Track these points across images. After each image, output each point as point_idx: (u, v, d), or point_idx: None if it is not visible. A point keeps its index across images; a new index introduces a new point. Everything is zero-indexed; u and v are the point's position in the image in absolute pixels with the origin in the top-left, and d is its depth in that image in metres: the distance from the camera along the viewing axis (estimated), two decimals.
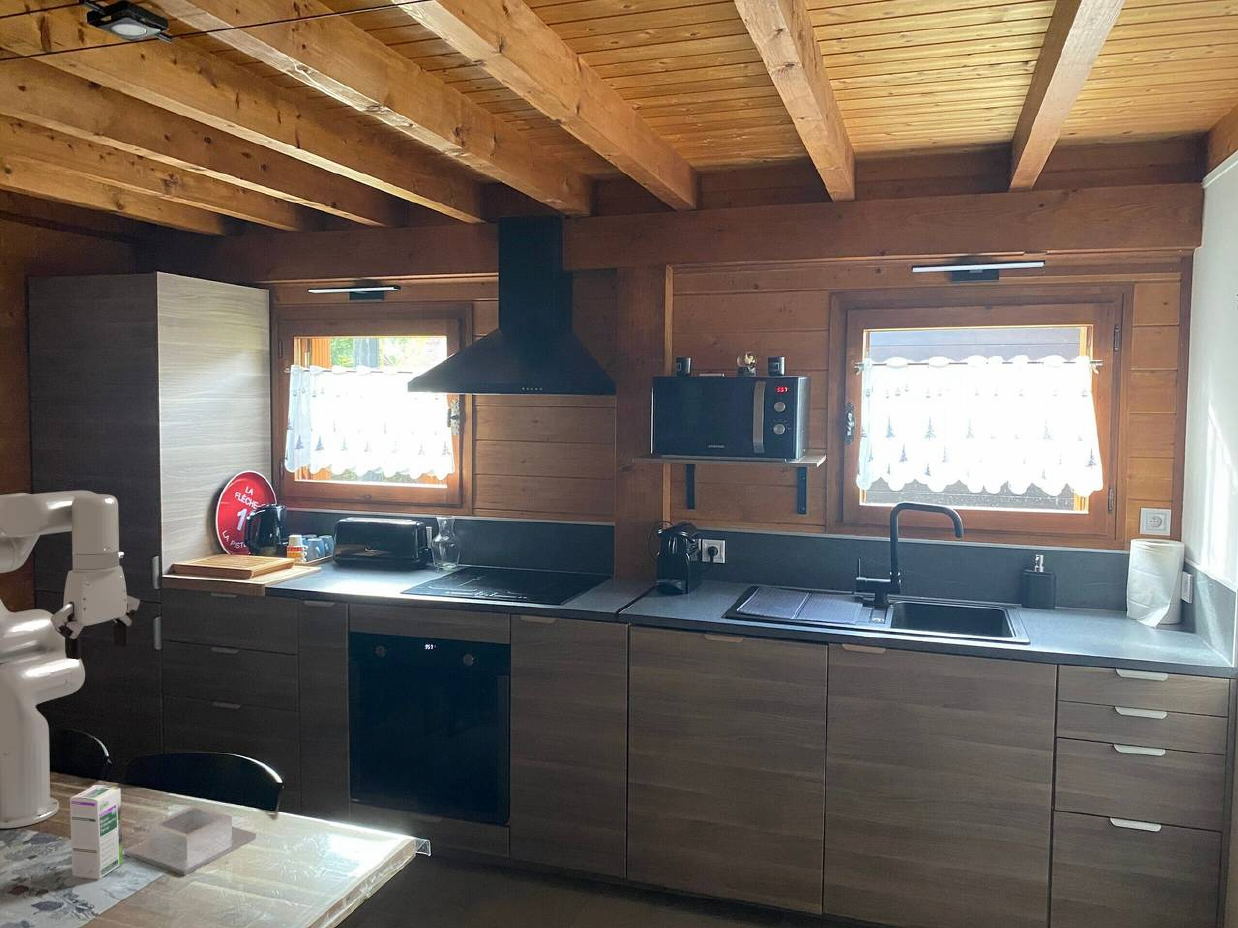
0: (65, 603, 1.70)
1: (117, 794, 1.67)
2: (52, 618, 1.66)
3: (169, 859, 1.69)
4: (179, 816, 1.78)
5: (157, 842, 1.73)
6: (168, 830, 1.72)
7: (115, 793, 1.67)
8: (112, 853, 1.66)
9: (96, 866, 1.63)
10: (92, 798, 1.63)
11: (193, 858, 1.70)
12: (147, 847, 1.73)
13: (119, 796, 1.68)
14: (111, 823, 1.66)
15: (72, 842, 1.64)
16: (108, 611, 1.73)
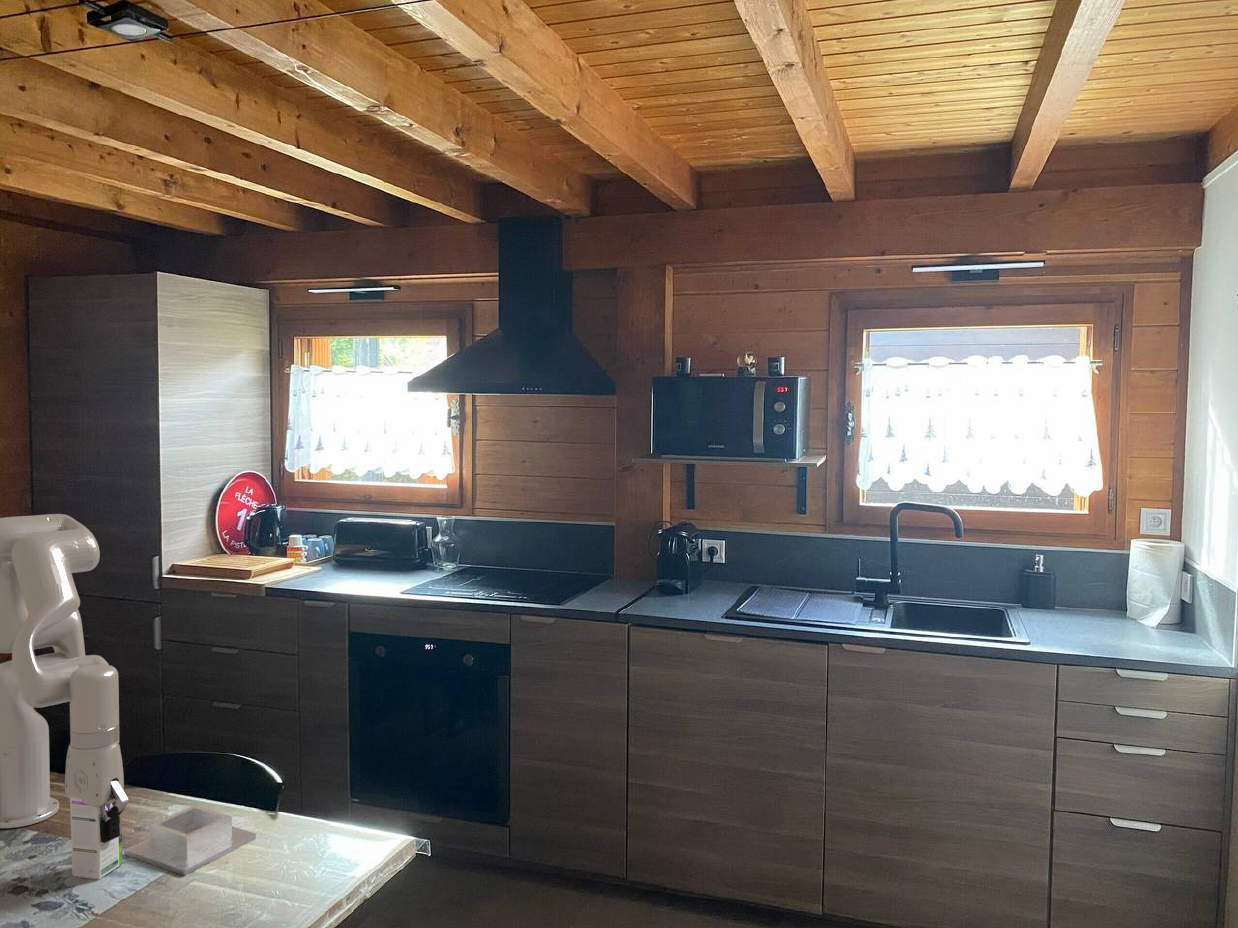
0: (105, 784, 1.62)
1: None
2: (125, 801, 1.62)
3: (169, 859, 1.69)
4: (179, 816, 1.78)
5: (157, 842, 1.73)
6: (168, 830, 1.72)
7: None
8: (112, 853, 1.66)
9: (96, 866, 1.63)
10: None
11: (193, 858, 1.70)
12: (147, 847, 1.73)
13: None
14: None
15: (72, 842, 1.64)
16: None
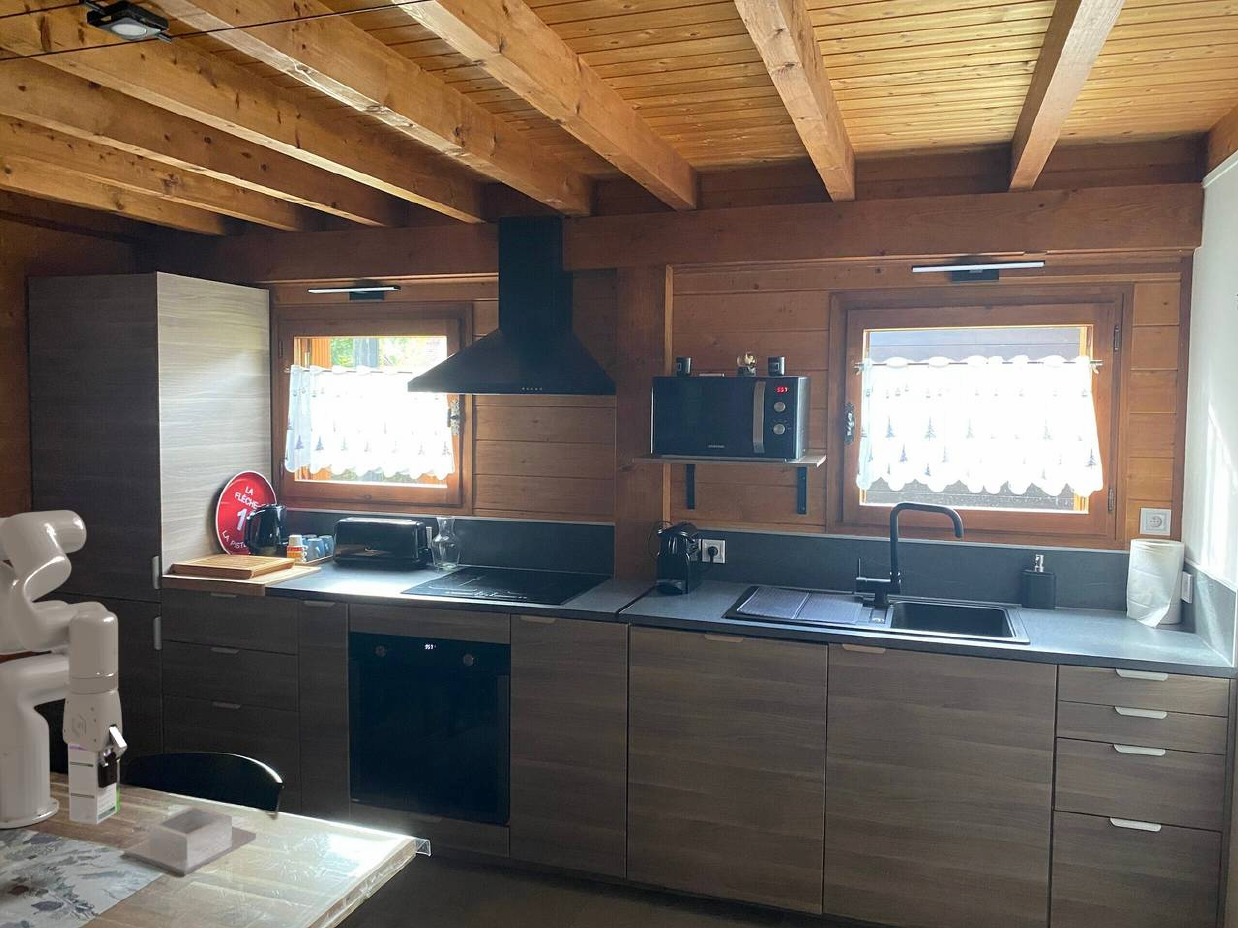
0: (104, 729, 1.61)
1: None
2: (123, 747, 1.62)
3: (169, 859, 1.69)
4: (179, 816, 1.78)
5: (157, 842, 1.73)
6: (168, 830, 1.72)
7: None
8: (110, 799, 1.66)
9: (93, 811, 1.63)
10: None
11: (193, 858, 1.70)
12: (147, 847, 1.73)
13: None
14: None
15: (70, 787, 1.64)
16: None
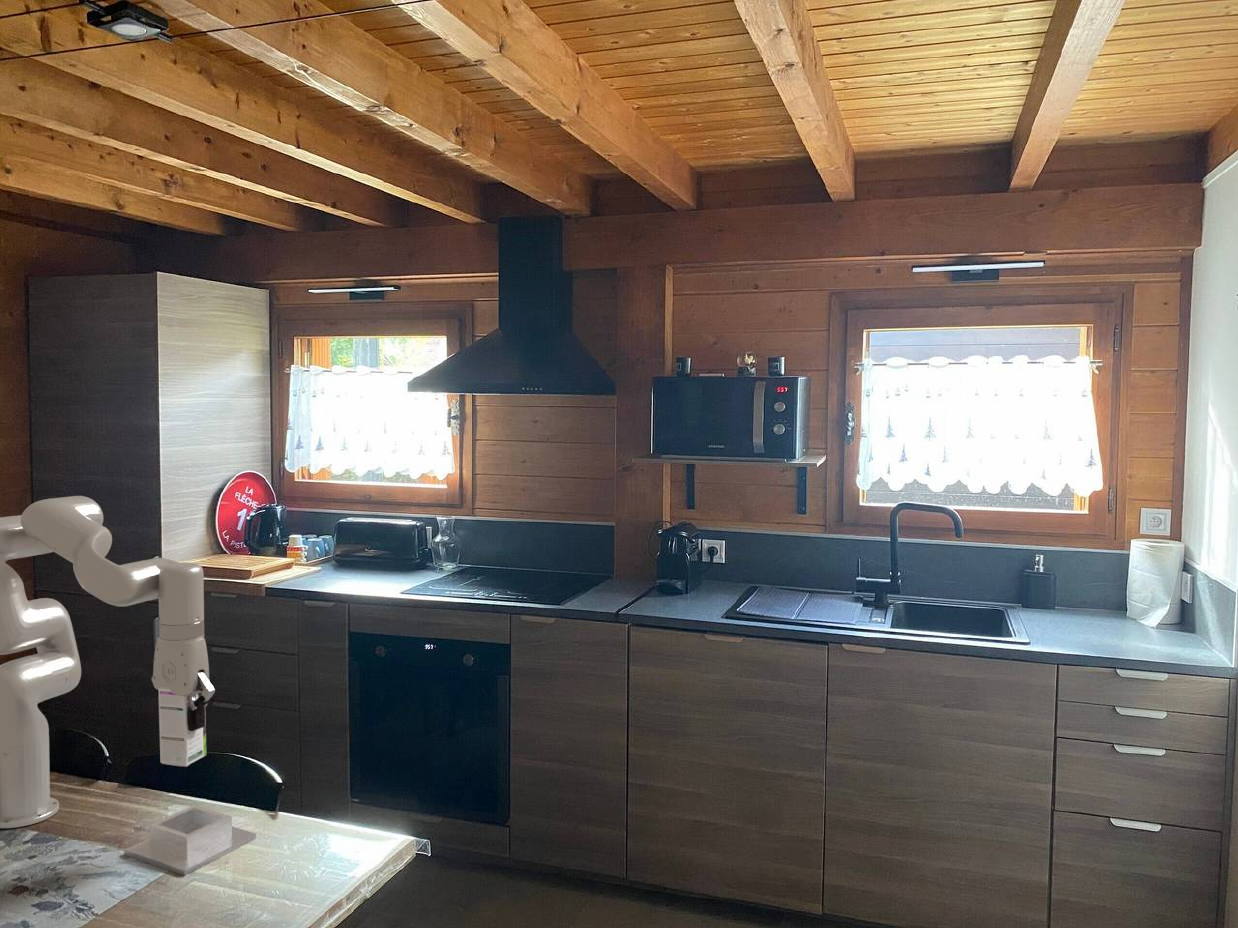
0: (193, 674, 1.69)
1: None
2: (211, 691, 1.69)
3: (169, 859, 1.69)
4: (179, 816, 1.78)
5: (157, 842, 1.73)
6: (168, 830, 1.72)
7: None
8: (197, 743, 1.73)
9: (183, 753, 1.71)
10: None
11: (193, 858, 1.70)
12: (147, 847, 1.73)
13: None
14: None
15: (160, 731, 1.71)
16: None
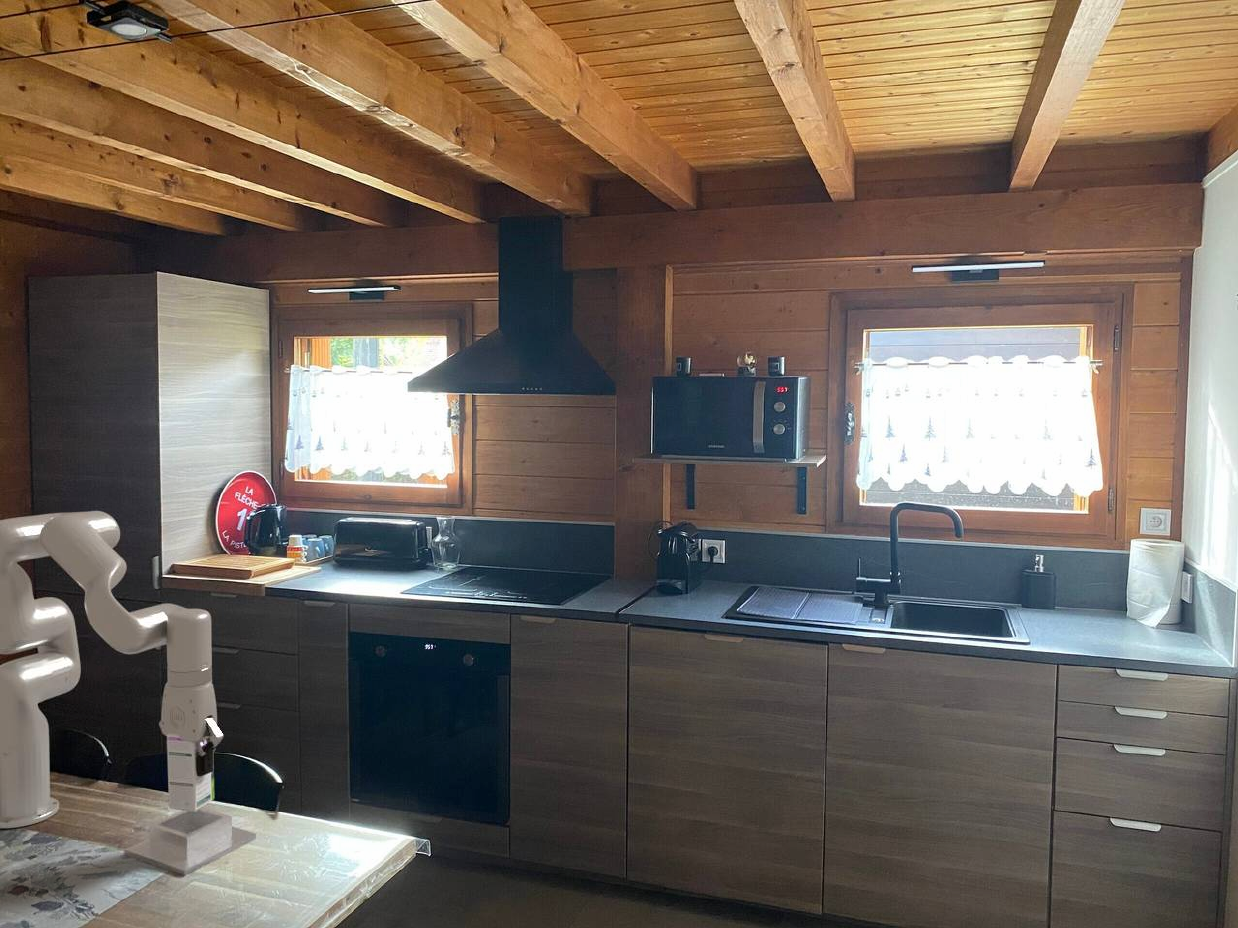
0: (201, 720, 1.71)
1: None
2: (220, 737, 1.71)
3: (169, 859, 1.69)
4: (179, 816, 1.78)
5: (157, 842, 1.73)
6: (168, 830, 1.72)
7: None
8: (206, 788, 1.75)
9: (192, 799, 1.72)
10: None
11: (193, 858, 1.70)
12: (147, 847, 1.73)
13: None
14: None
15: (169, 776, 1.73)
16: None
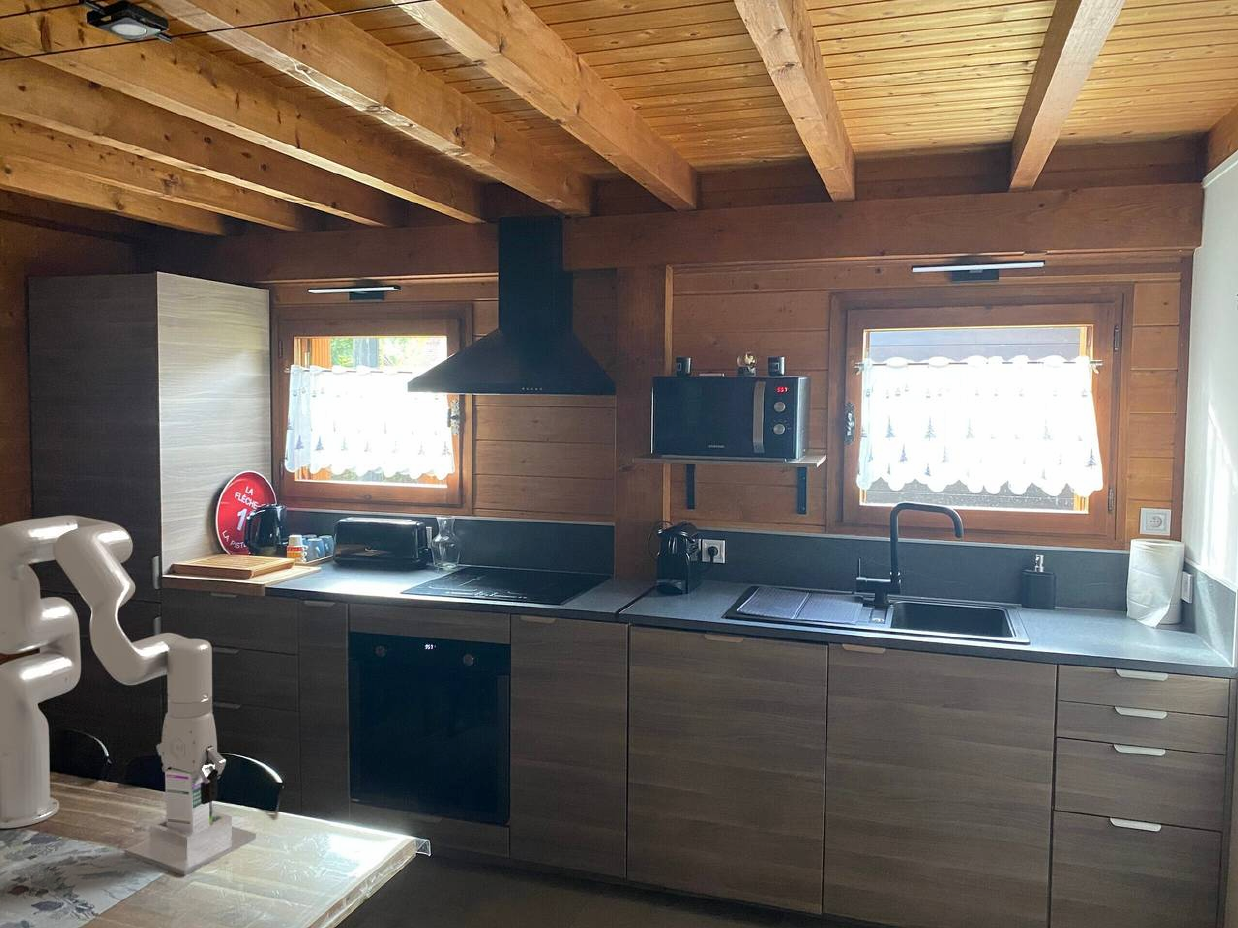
0: (202, 751, 1.71)
1: (208, 769, 1.76)
2: (222, 762, 1.71)
3: (169, 859, 1.69)
4: None
5: (157, 842, 1.73)
6: (168, 830, 1.72)
7: None
8: (203, 825, 1.76)
9: None
10: None
11: (193, 858, 1.70)
12: (147, 847, 1.73)
13: None
14: None
15: (167, 813, 1.74)
16: None
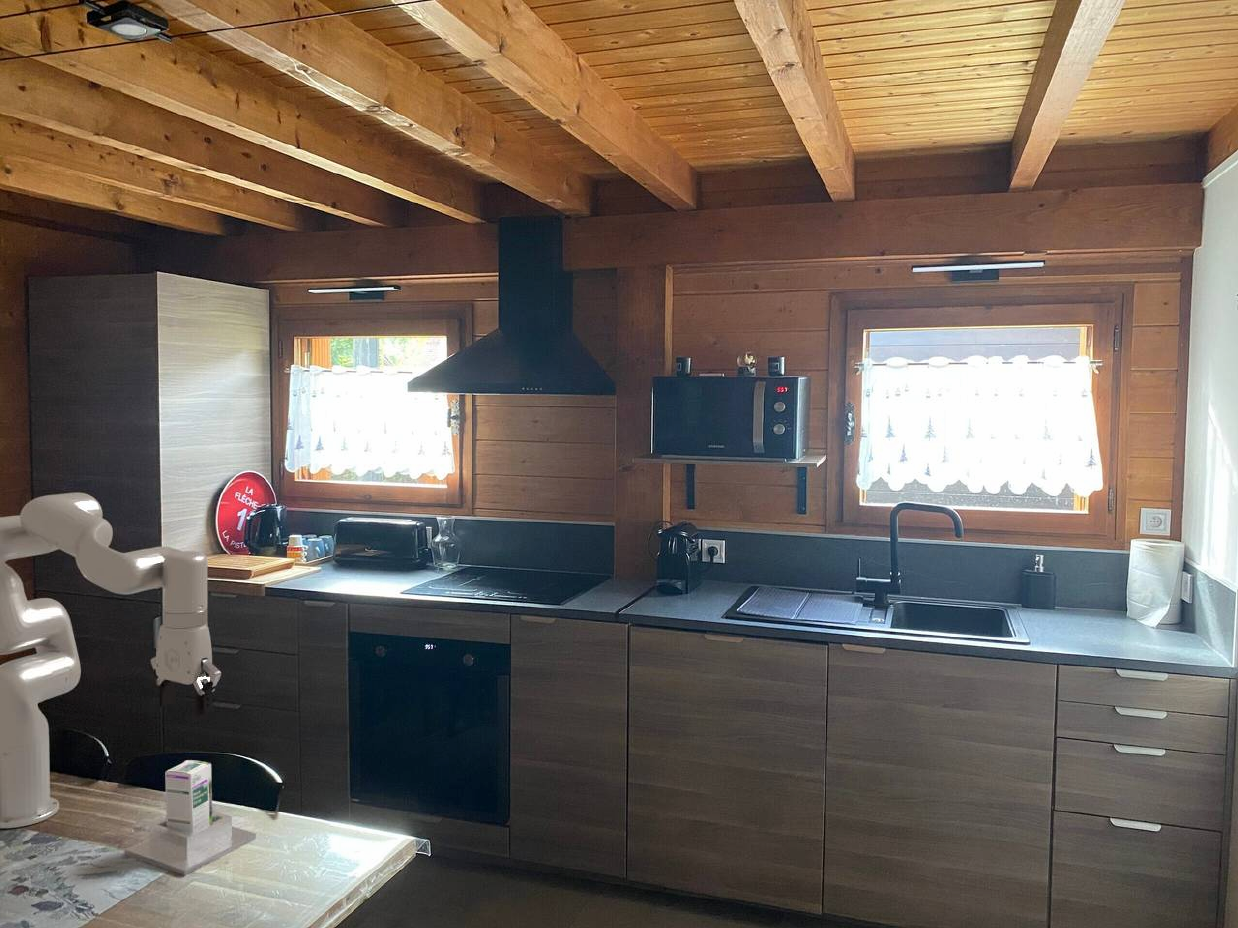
0: (196, 662, 1.70)
1: (208, 769, 1.76)
2: (218, 673, 1.70)
3: (169, 859, 1.69)
4: None
5: (157, 842, 1.73)
6: (168, 830, 1.72)
7: (206, 768, 1.76)
8: (203, 825, 1.76)
9: None
10: (186, 771, 1.72)
11: (193, 858, 1.70)
12: (147, 847, 1.73)
13: (210, 771, 1.77)
14: (203, 796, 1.75)
15: (167, 813, 1.74)
16: None
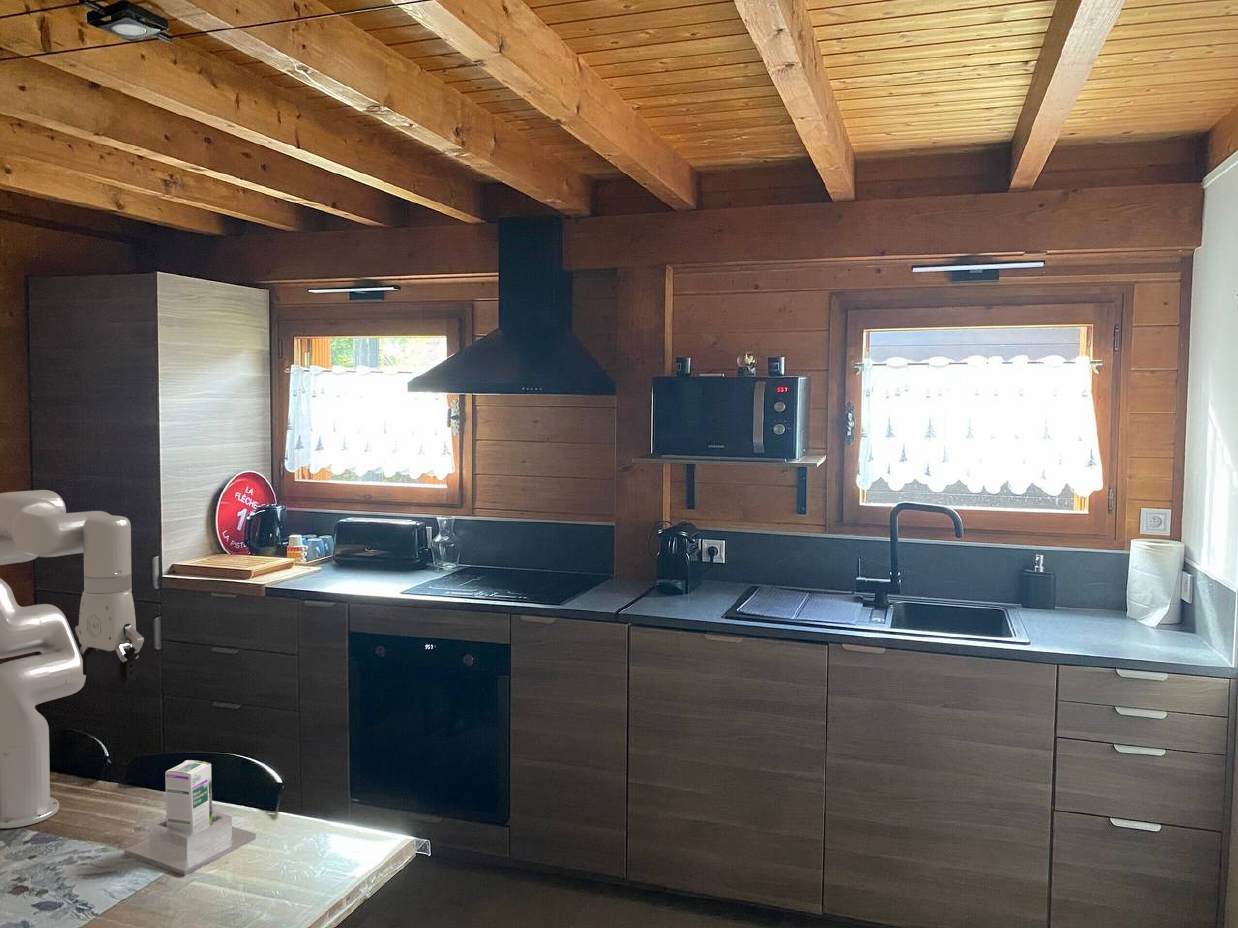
0: (118, 628, 1.66)
1: (208, 769, 1.76)
2: (140, 639, 1.66)
3: (169, 859, 1.69)
4: None
5: (157, 842, 1.73)
6: (168, 830, 1.72)
7: (206, 768, 1.76)
8: (203, 825, 1.76)
9: None
10: (185, 771, 1.72)
11: (193, 858, 1.70)
12: (147, 847, 1.73)
13: (210, 771, 1.77)
14: (203, 796, 1.75)
15: (167, 813, 1.74)
16: None
